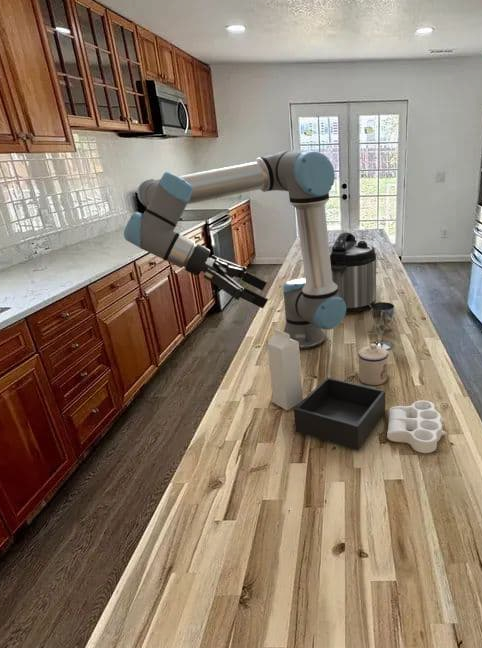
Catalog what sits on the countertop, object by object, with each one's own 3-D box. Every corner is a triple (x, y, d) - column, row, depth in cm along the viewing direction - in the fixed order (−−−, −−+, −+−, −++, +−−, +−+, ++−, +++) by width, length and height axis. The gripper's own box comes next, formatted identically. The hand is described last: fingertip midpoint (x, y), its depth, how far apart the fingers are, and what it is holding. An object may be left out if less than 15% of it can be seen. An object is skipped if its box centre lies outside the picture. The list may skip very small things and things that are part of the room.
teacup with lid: (386, 386, 130) (387, 351, 125) (356, 385, 131) (356, 350, 126) (388, 367, 141) (389, 335, 136) (360, 366, 142) (360, 333, 137)
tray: (328, 398, 125) (327, 377, 122) (385, 412, 118) (385, 390, 115) (295, 431, 111) (293, 408, 108) (358, 450, 104) (357, 426, 101)
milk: (287, 411, 120) (280, 338, 110) (273, 403, 124) (265, 332, 114) (303, 401, 124) (298, 331, 114) (289, 394, 128) (283, 325, 118)
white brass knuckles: (390, 408, 120) (444, 412, 118) (386, 450, 104) (448, 455, 102) (390, 398, 118) (445, 401, 116) (386, 438, 102) (450, 443, 100)
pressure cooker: (347, 290, 214) (346, 224, 200) (391, 304, 195) (393, 232, 181) (299, 306, 195) (294, 234, 181) (342, 322, 176) (340, 244, 163)
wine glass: (396, 343, 157) (398, 304, 151) (386, 352, 151) (387, 311, 145) (377, 339, 161) (377, 300, 155) (366, 347, 155) (366, 307, 149)
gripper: (190, 255, 122) (258, 290, 130) (175, 284, 100) (258, 324, 108) (201, 232, 120) (270, 269, 128) (189, 256, 98) (273, 299, 106)
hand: (265, 294), depth 118 cm, fingers open, 13 cm apart
